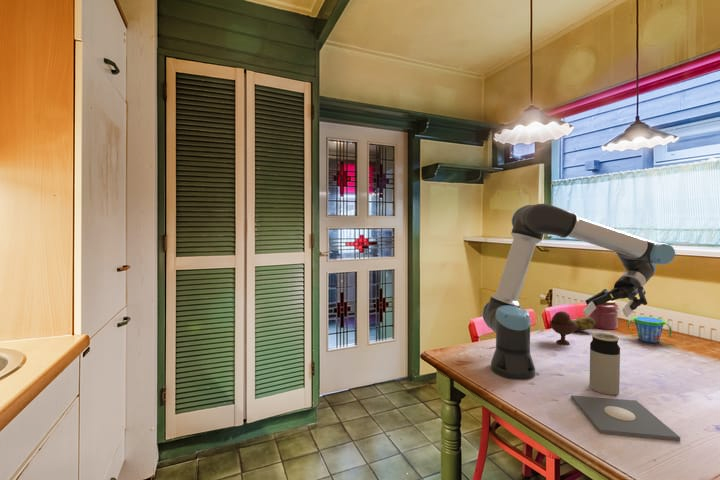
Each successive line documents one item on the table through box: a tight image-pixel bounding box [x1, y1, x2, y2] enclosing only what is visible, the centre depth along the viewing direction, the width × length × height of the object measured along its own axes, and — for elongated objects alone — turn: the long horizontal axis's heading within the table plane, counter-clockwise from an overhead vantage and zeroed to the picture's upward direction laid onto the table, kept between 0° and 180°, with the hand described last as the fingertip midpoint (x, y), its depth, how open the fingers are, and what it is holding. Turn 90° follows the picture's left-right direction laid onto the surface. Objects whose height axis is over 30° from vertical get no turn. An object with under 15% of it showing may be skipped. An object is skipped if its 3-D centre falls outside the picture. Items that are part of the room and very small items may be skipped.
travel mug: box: [589, 332, 621, 396], centre depth 110 cm, size 8×8×18 cm
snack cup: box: [627, 315, 673, 344], centre depth 155 cm, size 16×10×10 cm
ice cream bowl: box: [549, 310, 577, 346], centre depth 153 cm, size 11×11×15 cm
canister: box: [588, 300, 619, 330], centre depth 178 cm, size 13×13×18 cm
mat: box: [570, 394, 681, 442], centre depth 94 cm, size 18×18×1 cm
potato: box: [571, 316, 595, 332], centre depth 170 cm, size 8×13×8 cm, turn 42°
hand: (604, 313), depth 119 cm, fingers open, 13 cm apart
